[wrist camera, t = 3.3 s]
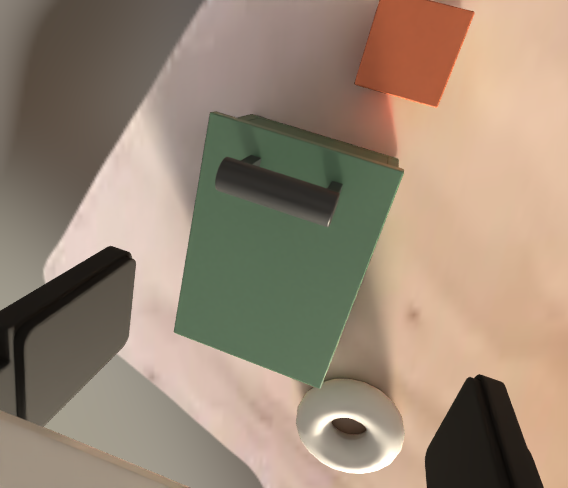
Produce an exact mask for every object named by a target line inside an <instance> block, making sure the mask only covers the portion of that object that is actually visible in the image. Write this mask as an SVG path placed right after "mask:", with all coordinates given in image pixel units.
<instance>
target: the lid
mask: <svg viewBox="0 0 568 488" xmlns="http://www.w3.org/2000/svg"><path fill="white" fill-rule="evenodd" d="M403 174H404V170H403V169H401V168H398V167H395V166H392V165H388V164H385V163H382V162H379V161H375V160H372V159H369V158H366V157H362V156H359V155H356V154H353V153H349V152H346V151H343V150H340V149H336V148H333V147H330V146H327V145H323V144H320V143H317V142H314V141H310V140H307V139H304V138H301V137H297V136H294V135H291V134H288V133H284V132H281V131H278V130H275V129H271V128H268V127H265V126H262V125H258V124H255V123H252V122H248V121H245V120H242V119H239V118H235V117H232V116H229V115H226V114H222V113H219V112H216V111H215V112H210V116H209V122H208V128H207V134H206V140H205V146H204V152H203V158H202V164H201V170H200V176H199V182H198V188H197V194H196V200H195V206H194V212H193V219H192V225H191V231H190V237H189V243H188V249H187V255H186V261H185V267H184V273H183V279H182V285H181V291H180V297H179V303H178V309H177V315H176V321H175V327H174V333H176V334H179V335H181V336H184V337H187V338H189V339H192V340H194V341H197V342H200V343H202V344H205V345H207V346H210V347H213V348H215V349H218V350H220V351H223V352H225V353H228V354H231V355H233V356H236V357H238V358H241V359H244V360H246V361H249V362H251V363H254V364H257V365H259V366H262V367H264V368H267V369H269V370H272V371H275V372H277V373H280V374H282V375H285V376H288V377H290V378H293V379H295V380H298V381H301V382H303V383H306V384H308V385H311V386H313V387H316V388H319V389H320V388H321V386H322V384H323V381H324V378H325V376H326V373H327V371H328V368H329V366H330V363H331V360H332V358H333V355H334V353H335V350H336V347H337V345H338V342H339V340H340V337H341V334H342V332H343V329H344V327H345V324H346V322H347V319H348V316H349V314H350V311H351V309H352V306H353V303H354V301H355V298H356V296H357V293H358V291H359V288H360V285H361V283H362V280H363V278H364V275H365V272H366V270H367V267H368V265H369V262H370V259H371V257H372V254H373V252H374V249H375V247H376V244H377V241H378V239H379V236H380V234H381V231H382V228H383V226H384V223H385V221H386V218H387V215H388V213H389V210H390V208H391V205H392V203H393V200H394V197H395V195H396V192H397V190H398V187H399V184H400V182H401V179H402V177H403Z"/></svg>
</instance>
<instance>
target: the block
mask: <svg viewBox="0 0 568 488" xmlns="http://www.w3.org/2000/svg"><path fill="white" fill-rule="evenodd" d="M473 16H474V12H473V11H469V10H465V9H461V8H457V7H454V6H450V5H446V4H442V3H438V2H434V1H430V0H379V4H378V7H377V10H376V13H375V17H374V20H373V23H372V27H371V30H370V33H369V37H368V40H367V43H366V46H365V50H364V53H363V56H362V60H361V63H360V66H359V70H358V73H357V76H356V79H355V83H354V84H355V85H358V86H361V87H365V88H368V89H372V90H375V91H379V92H382V93H386V94H389V95H393V96H396V97H400V98H403V99H407V100H410V101H414V102H417V103H421V104H424V105H428V106H431V107H435V108H437V107H438V105H439V102H440V99H441V97H442V94H443V92H444V89H445V87H446V84H447V82H448V79H449V77H450V74H451V72H452V69H453V67H454V64H455V61H456V59H457V56H458V54H459V51H460V49H461V46H462V44H463V41H464V39H465V36H466V34H467V31H468V29H469V26H470V24H471V21H472V18H473Z"/></svg>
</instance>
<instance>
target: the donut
mask: <svg viewBox="0 0 568 488" xmlns="http://www.w3.org/2000/svg"><path fill="white" fill-rule="evenodd" d="M337 418H350V419H354V420H356V421H358V422H360V423H361V424H363V425H364V426H365V427H366V429H367V430H366V431H365V432H363V433H361V434H347V433H343V432H341V431H339V430H338V429H337V428H335V427H334V426H333V424H332V423H331V421H332V420H334V419H337ZM296 425H297V429H298V433H299V436H300V439H301V441H302V442H303V444H304V445H305V447H306V448H307V450H308V451H309V452H310V453H311V454H312V455H313V456H315V457H316V458H317V459H318V460H319V461H320V462H322V463H324V464H326V465H328V466H329V467H331V468H333V469H336V470H340V471H343V472H347V473H367V472H372V471H377V470H379V469H381V468H383V467H385V466H387V465H388V464H390V463H391V462H392V461H393V460H394V458H395V457H396V456H397V455H398V453H399V452H400V451H401V447H402V444H403V440H404V435H405V432H404V426H403V420H402V416H401V414H400V413H399V411H398V409H397V408H396V406H395V404H394V403H393V401H392V400H391V399H390V398H388V397H387V396H386V395H385V394H384V393H383V392H382V391H381V390H379V389H377V388H375V387H373V386H371V385H369V384H367V383H365V382H361V381H357V380H353V379H331V380H328V381H325V382H323V384H322V386H321V388H320V389H319V388H316V387H313V388H312V389H311V390H309V391H308V392H307V393H306V394H305V396H304V397H303V399H302V401H301V402H300V404H299V406H298V410H297V418H296Z"/></svg>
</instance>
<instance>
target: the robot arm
mask: <svg viewBox="0 0 568 488" xmlns="http://www.w3.org/2000/svg"><path fill="white" fill-rule="evenodd" d="M135 268H136V262H135V260H134V259H132V256H131V253H130V252H127V251H124V250H121V249H119V248H116V247H113V246H109V247H107V248H105V249H103V250H102V251H100V252H98V253H97V254H95V255H93V256H91V257H90V258H88V259H86V260H85V261H83V262H81V263H80V264H78V265H76V266H75V267H73V268H71V269H70V270H68V271H66V272H65V273H63V274H61V275H60V276H58V277H56V278H55V279H53V280H51V281H50V282H48V283H46V284H44V285H43V286H41V287H39V288H38V289H36V290H34V291H33V292H31V293H29V294H28V295H26V296H24V297H23V298H21V299H19V300H18V301H16V302H14V303H13V304H11V305H9V306H8V307H6V308H4V309H3V310H1V311H0V488H190V487H188V486H185V485H183V484H180V483H178V482H176V481H173V480H170V479H168V478H166V477H164V476H161V475H159V474H156V473H154V472H151V471H149V470H147V469H144V468H142V467H139V466H137V465H135V464H132V463H130V462H127V461H125V460H122V459H120V458H117V457H115V456H113V455H110V454H108V453H105V452H103V451H101V450H98V449H96V448H93V447H91V446H88V445H86V444H84V443H81V442H79V441H76V440H74V439H71V438H69V437H67V436H64V435H62V434H59V433H56V432H54V431H52V430H49V429H47V428H44V426H45V425H46V424H47V423H48V422H49V421H50V420H51V419H52V418H53V417H54V416H55V415H56V414H57V413H58V412H59V411H60V410H61V409H62V408H63V407H64V406H65V405H66V404H67V403H68V402H69V401H70V400H71V399H72V398H73V397H74V396H75V395H76V394H77V393H78V392H79V391H80V390H81V389H82V388H83V387H84V386H85V385H86V384H87V383H88V382H89V381H90V380H91V379H92V378H93V377H94V376H95V375H96V374H97V373H98V372H99V371H100V370H101V369H102V368H103V367H104V366H105V365H106V364H107V363H108V362H109V361H110V360H111V359H112V358H113V357H114V356H115V355H116V354H117V353H118V352H119V351H120V350H121V349H122V348H123V347H124V345H125V344H126V342H127V340H128V337H129V329H130V319H131V309H132V299H133V288H134V278H135ZM425 469H426V482H427V488H544V487H543V484H542V482H541V479H540V476H539V473H538V471H537V468H536V465H535V462H534V460H533V457H532V455H531V453H530V451H529V450H528V448H527V446H526V443H525V440H524V437H523V434H522V432H521V429H520V426H519V423H518V421H517V418H516V415H515V412H514V409H513V407H512V404H511V401H510V398H509V396H508V393H507V390H506V387H505V385H504V383H502V382H500V381H497V380H495V379H492V378H489V377H486V376H483V375H480V374H479V375H477V376H476V377H475V378H471V377H468V378H467V379H466V381H465V383H464V384H463V386H462V388H461V390H460V391H459V393H458V395H457V397H456V399H455V400H454V402H453V404H452V406H451V407H450V409H449V411H448V413H447V415H446V416H445V418H444V420H443V422H442V423H441V425H440V427H439V429H438V431H437V432H436V434H435V436H434V438H433V439H432V441H431V443H430V445H429V447H428V449H427V452H426V456H425Z"/></svg>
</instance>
